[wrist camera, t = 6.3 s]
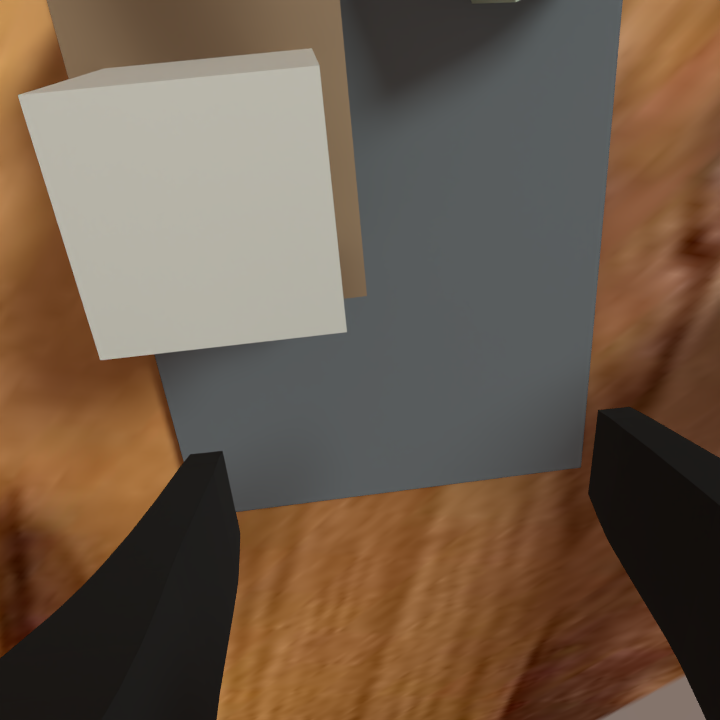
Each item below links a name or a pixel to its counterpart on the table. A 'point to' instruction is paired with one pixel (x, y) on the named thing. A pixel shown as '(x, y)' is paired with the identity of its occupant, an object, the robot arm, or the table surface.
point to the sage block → (492, 1)
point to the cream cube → (194, 200)
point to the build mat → (437, 266)
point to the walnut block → (221, 39)
